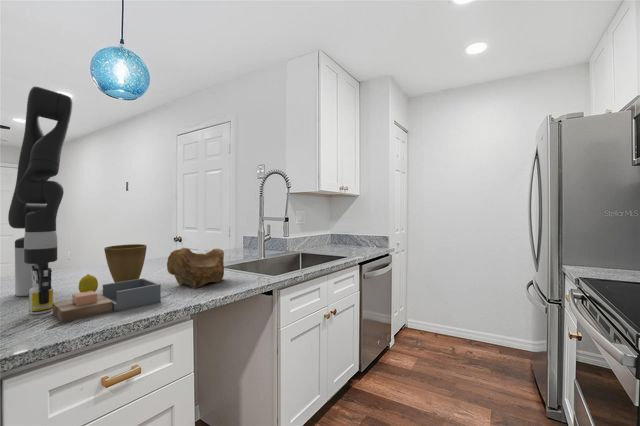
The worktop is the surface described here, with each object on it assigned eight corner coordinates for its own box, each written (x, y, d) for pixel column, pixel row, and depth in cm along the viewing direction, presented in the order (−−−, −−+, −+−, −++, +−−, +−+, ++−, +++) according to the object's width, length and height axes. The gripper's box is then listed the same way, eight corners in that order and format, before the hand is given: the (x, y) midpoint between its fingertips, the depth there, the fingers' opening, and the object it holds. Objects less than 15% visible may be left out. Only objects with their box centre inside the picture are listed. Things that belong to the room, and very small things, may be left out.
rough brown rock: (172, 295, 116) (174, 255, 115) (164, 282, 129) (166, 247, 128) (232, 288, 130) (235, 253, 129) (220, 277, 143) (222, 245, 142)
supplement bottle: (57, 310, 96) (57, 278, 96) (36, 315, 91) (36, 282, 91) (45, 308, 98) (45, 277, 98) (24, 313, 93) (24, 281, 92)
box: (99, 303, 103) (99, 285, 103) (143, 294, 114) (143, 278, 114) (114, 312, 94) (114, 292, 94) (160, 301, 105) (160, 284, 105)
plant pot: (118, 280, 135) (118, 244, 135) (153, 280, 136) (153, 244, 136) (95, 289, 120) (95, 248, 120) (135, 289, 121) (135, 248, 121)
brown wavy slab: (52, 313, 93) (52, 303, 93) (100, 303, 102) (100, 294, 102) (62, 322, 86) (62, 311, 85) (112, 311, 95) (112, 301, 95)
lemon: (87, 299, 107) (87, 276, 107) (74, 298, 109) (74, 275, 108) (101, 295, 113) (101, 273, 113) (89, 294, 114) (89, 272, 114)
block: (72, 302, 94) (72, 294, 94) (92, 298, 98) (92, 290, 98) (76, 305, 91) (76, 297, 91) (97, 301, 95) (97, 293, 95)
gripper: (62, 247, 92) (63, 303, 92) (52, 243, 101) (52, 294, 102) (28, 249, 87) (28, 309, 87) (20, 245, 96) (20, 299, 96)
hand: (41, 301), depth 94 cm, fingers open, 6 cm apart
